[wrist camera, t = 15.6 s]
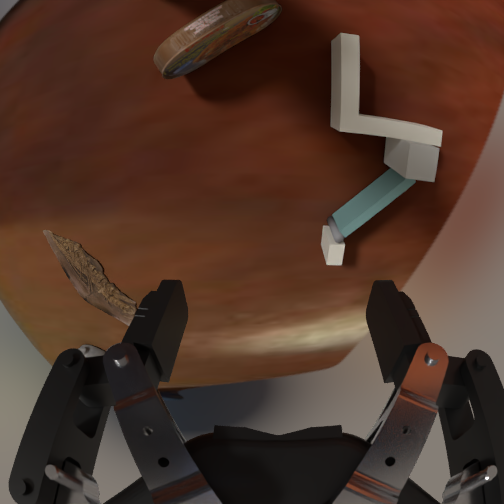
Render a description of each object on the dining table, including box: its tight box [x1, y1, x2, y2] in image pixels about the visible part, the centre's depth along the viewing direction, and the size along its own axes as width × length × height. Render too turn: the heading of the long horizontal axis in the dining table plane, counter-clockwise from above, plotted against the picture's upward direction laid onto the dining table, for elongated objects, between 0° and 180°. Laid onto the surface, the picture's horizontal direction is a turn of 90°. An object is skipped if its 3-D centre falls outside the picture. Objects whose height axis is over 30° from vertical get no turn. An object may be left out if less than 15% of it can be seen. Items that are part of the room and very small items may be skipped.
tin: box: [154, 0, 282, 79], centre depth 23 cm, size 15×3×8 cm, turn 122°
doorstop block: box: [384, 137, 439, 182], centre depth 29 cm, size 4×4×7 cm
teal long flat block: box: [327, 168, 416, 243], centre depth 34 cm, size 13×2×5 cm, turn 135°
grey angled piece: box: [321, 33, 442, 265], centre depth 30 cm, size 28×13×5 cm, turn 1°
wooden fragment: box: [43, 230, 137, 326], centre depth 47 cm, size 26×11×1 cm, turn 33°
